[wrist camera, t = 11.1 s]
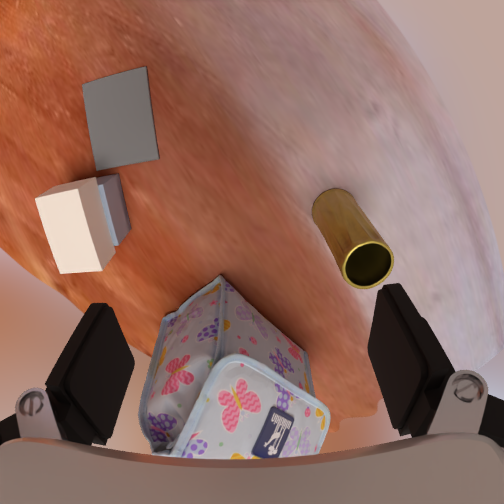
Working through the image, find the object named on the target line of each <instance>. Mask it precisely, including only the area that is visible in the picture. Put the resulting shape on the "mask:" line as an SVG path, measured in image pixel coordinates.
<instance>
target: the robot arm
mask: <svg viewBox="0 0 504 504" xmlns="http://www.w3.org/2000/svg"><path fill="white" fill-rule="evenodd" d="M368 355H369V358H370V360H371V363H372V366H373V369H374V372H375V375H376V378H377V381H378V383H379V386H380V389H381V392H382V395H383V398H384V401H385V404H386V407H387V411H388V414H389V417H390V420H391V423H392V426H393V428H394V429H398V431H399V434H400V436H403V435H407V434H411V436H412V438H408V439H403V440H398V441H394V442H389V443H384V444H379V445H374V446H369V447H363V448H357V449H351V450H345V451H338V452H331V453H324V454H315V455H306V456H295V457H283V458H265V459H197V458H180V457H168V456H157V455H148V454H140V453H132V452H125V451H118V450H113V449H107V448H101V447H95V446H91V445H92V443H94V444H100V445H106V443H107V439H108V438H111V436H112V434H113V430H114V427H115V424H116V420H117V418H118V414H119V411H120V408H121V405H122V401H123V399H124V396H125V392H126V390H127V387H128V384H129V381H130V378H131V375H132V372H133V369H134V365H135V361H134V357H133V355H132V353H131V351H130V348H129V346H128V344H127V342H126V339H125V337H124V335H123V332H122V330H121V328H120V325H119V323H118V320H117V318H116V316H115V313H114V311H113V309H112V307H109V306H108V304H107V303H92V304H91V305H90V306H89V308H88V309H87V311H86V312H85V314H84V316H83V317H82V319H81V321H80V322H79V324H78V326H77V327H76V329H75V331H74V332H73V334H72V336H71V337H70V339H69V341H68V343H67V344H66V346H65V348H64V350H63V351H62V353H61V355H60V357H59V358H58V360H57V362H56V364H55V366H54V368H53V369H52V372H51V373H50V375H49V377H48V379H47V381H46V383H45V385H46V386H47V388H46V390H45V391H44V390H43V389H41V388H31V389H28V390H27V391H25V392H24V393H22V394H21V396H20V397H19V398H18V400H17V402H16V406H15V411H16V413H15V414H13V415H12V416H10V417H8V418H6V419H4V420H2V421H0V504H504V400H501V399H499V398H497V397H494V396H492V395H489V394H488V387H487V384H486V382H485V380H484V379H483V378H482V377H481V376H480V375H479V374H478V373H476V372H474V371H470V370H460V371H457V372H455V370H454V368H453V366H452V364H451V362H450V361H449V359H448V357H447V355H446V353H445V352H444V350H443V348H442V346H441V345H440V343H439V341H438V339H437V338H436V336H435V334H434V333H433V331H432V329H431V327H430V326H429V324H428V322H427V321H426V320H425V319H424V318H423V317H421V316H420V314H419V313H418V311H417V309H416V308H415V306H414V304H413V303H412V301H411V300H410V298H409V296H408V295H407V293H406V292H405V290H404V289H403V287H402V285H401V284H399V283H396V284H387V285H383V287H382V289H380V290H378V293H377V299H376V305H375V311H374V316H373V322H372V327H371V332H370V337H369V342H368Z"/></svg>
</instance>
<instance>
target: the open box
mask: <svg viewBox="0 0 504 504" xmlns="http://www.w3.org/2000/svg"><path fill="white" fill-rule="evenodd" d="M96 180H97V185H98V189H99V193H100V197H101V201H102V205H103V209H104V213H105V217H106V220H107V224H108V227H109V231H110V235H111V238H112V241H113V245H114V246H116V245H119V244H120V243H121V242H122V240H123V239H124V238H125V236H126V235H127V234H128V233H129V231H130V230H131V225H130V221H129V217H128V213H127V208H126V204H125V200H124V195H123V191H122V186H121V182H120V177H119V173H118V174H113V175H108V176H102V177H97V178H96Z"/></svg>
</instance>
